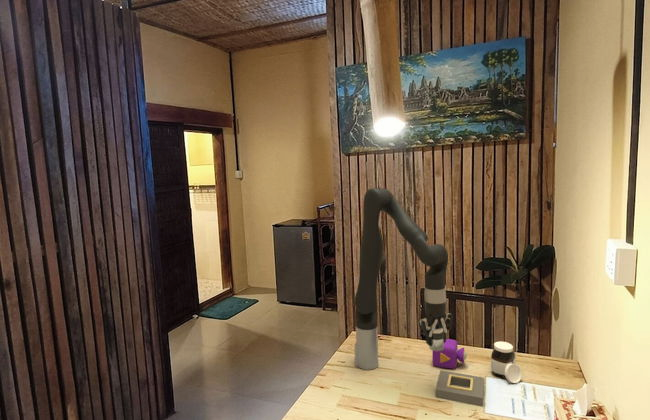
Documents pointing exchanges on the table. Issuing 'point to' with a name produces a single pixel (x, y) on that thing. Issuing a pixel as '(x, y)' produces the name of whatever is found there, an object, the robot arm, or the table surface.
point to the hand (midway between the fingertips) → (436, 343)
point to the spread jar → (505, 362)
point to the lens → (437, 339)
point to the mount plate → (460, 388)
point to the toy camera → (449, 355)
